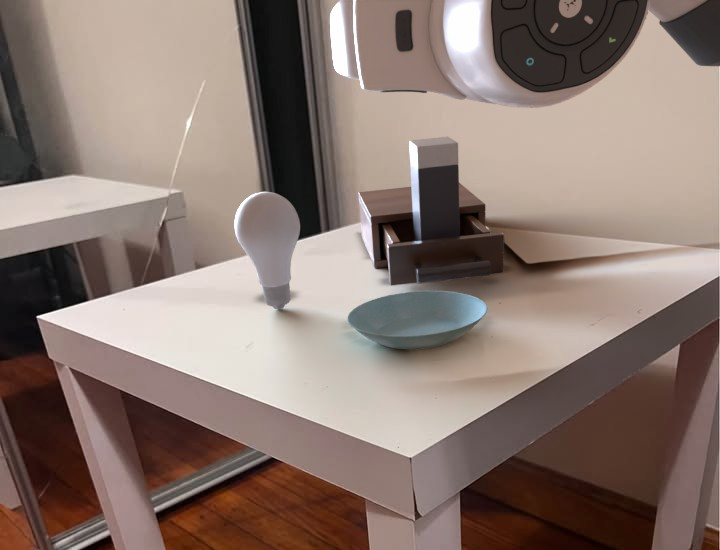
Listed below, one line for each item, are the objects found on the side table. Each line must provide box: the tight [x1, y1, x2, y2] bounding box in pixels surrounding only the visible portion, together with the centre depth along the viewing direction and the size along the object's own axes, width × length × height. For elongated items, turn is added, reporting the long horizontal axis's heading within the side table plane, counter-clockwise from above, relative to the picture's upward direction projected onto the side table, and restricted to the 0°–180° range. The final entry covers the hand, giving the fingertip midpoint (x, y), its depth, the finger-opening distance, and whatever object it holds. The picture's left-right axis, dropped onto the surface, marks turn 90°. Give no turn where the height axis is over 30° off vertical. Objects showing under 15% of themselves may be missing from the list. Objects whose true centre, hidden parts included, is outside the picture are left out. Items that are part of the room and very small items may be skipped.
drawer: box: [380, 213, 505, 286], centre depth 80 cm, size 17×11×4 cm, turn 6°
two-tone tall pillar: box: [408, 136, 460, 241], centre depth 78 cm, size 4×5×11 cm
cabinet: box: [357, 182, 486, 269], centre depth 91 cm, size 15×13×6 cm
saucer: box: [346, 290, 488, 351], centre depth 65 cm, size 12×12×2 cm
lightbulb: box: [233, 191, 301, 310], centre depth 73 cm, size 6×6×11 cm
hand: (457, 34), depth 60 cm, fingers open, 8 cm apart
